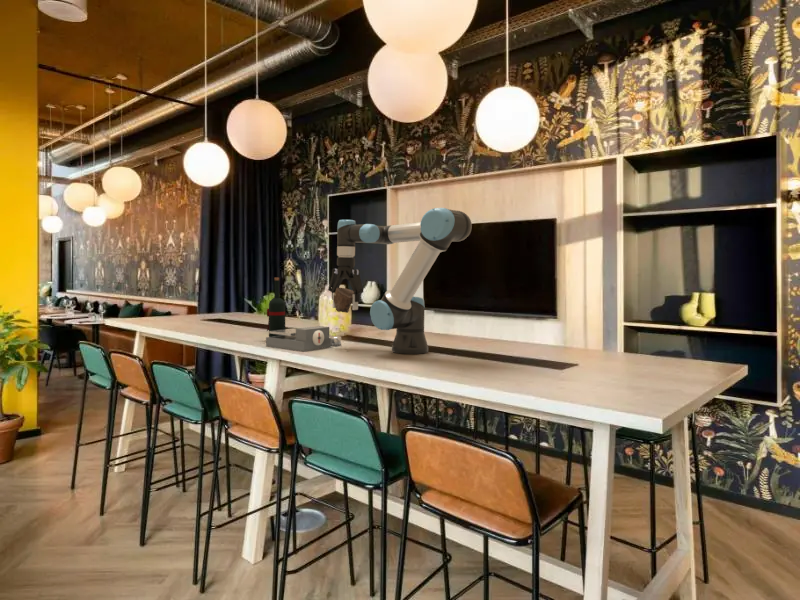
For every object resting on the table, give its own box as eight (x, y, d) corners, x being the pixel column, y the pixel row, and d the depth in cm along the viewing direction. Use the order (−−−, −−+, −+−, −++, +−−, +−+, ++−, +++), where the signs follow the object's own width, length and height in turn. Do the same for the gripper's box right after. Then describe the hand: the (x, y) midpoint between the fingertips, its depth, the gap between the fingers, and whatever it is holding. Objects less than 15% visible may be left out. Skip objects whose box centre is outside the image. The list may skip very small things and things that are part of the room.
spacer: (343, 345, 243) (343, 336, 242) (335, 346, 239) (335, 337, 238) (335, 344, 246) (335, 335, 245) (327, 345, 242) (327, 337, 241)
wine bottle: (274, 339, 260) (273, 277, 258) (289, 341, 255) (289, 277, 253) (261, 341, 254) (261, 277, 252) (277, 343, 248) (276, 277, 246)
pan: (314, 335, 241) (314, 330, 241) (290, 338, 230) (290, 333, 230) (293, 332, 249) (293, 328, 249) (269, 335, 238) (269, 331, 238)
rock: (358, 302, 224) (338, 288, 222) (344, 321, 226) (324, 307, 224) (359, 293, 236) (340, 280, 233) (345, 311, 238) (326, 298, 236)
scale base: (332, 347, 236) (332, 327, 236) (305, 351, 223) (305, 330, 223) (293, 342, 251) (293, 323, 251) (266, 346, 238) (265, 326, 238)
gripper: (372, 257, 224) (371, 310, 226) (332, 256, 238) (331, 306, 240) (360, 257, 218) (359, 311, 220) (320, 256, 232) (319, 307, 234)
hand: (345, 308), depth 230 cm, fingers closed on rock, 11 cm apart
